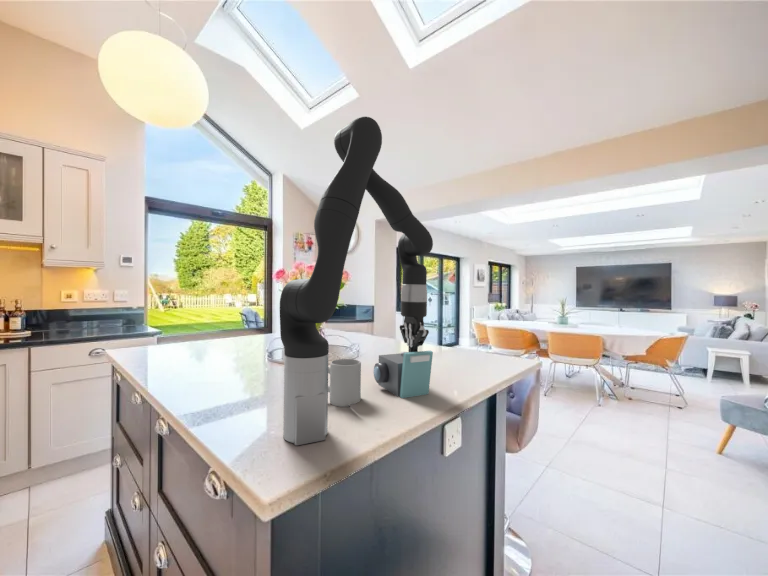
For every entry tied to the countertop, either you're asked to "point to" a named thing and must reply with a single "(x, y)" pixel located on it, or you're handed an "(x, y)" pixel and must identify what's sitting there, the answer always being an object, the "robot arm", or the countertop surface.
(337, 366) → the mug
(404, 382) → the side door
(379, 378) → the camera box
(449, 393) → the countertop surface
